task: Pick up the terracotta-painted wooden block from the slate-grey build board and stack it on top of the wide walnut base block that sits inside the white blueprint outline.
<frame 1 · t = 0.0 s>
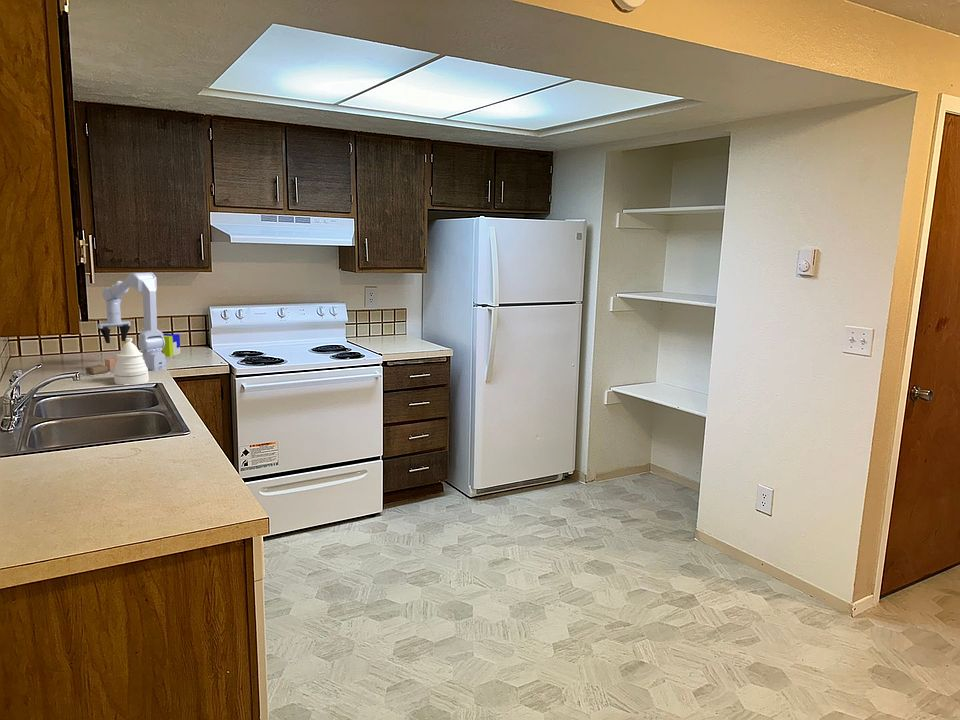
hand: (115, 342, 317), 10 cm above the worktop, fingers open, 7 cm apart
top block: (112, 369, 298), point 1 cm above the worktop, touching build board
honey pot: (131, 382, 281), on the worktop
puzzle toy: (166, 355, 344), on the worktop
build board: (104, 373, 295), on the worktop
base block: (96, 373, 291), point 1 cm above the worktop, touching build board
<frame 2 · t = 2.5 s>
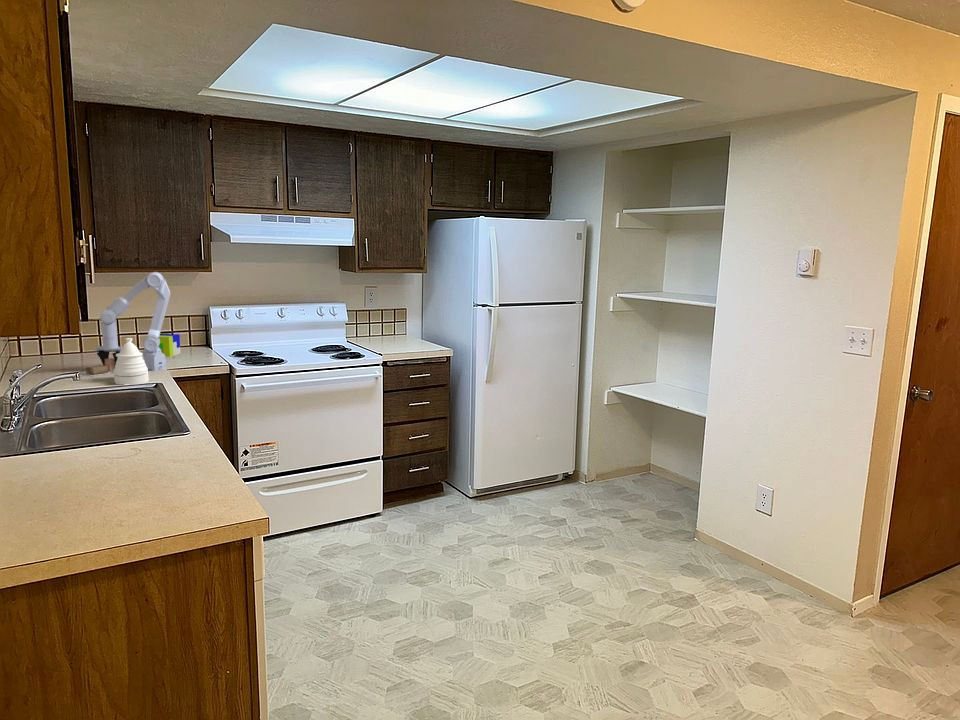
hand: (112, 367, 298), 2 cm above the worktop, fingers closed on top block, 5 cm apart
top block: (112, 369, 298), point 1 cm above the worktop, touching build board, gripper
everything else where it was.
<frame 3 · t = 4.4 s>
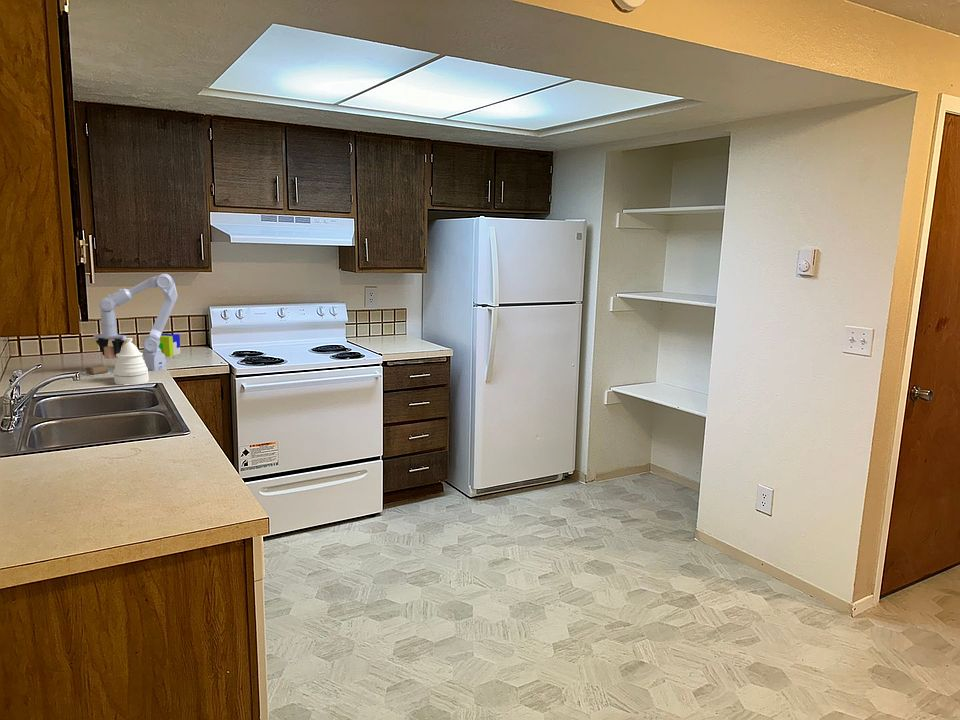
hand: (111, 355, 297), 7 cm above the worktop, fingers closed on top block, 5 cm apart
top block: (111, 357, 297), point 6 cm above the worktop, touching gripper
everything else where it was.
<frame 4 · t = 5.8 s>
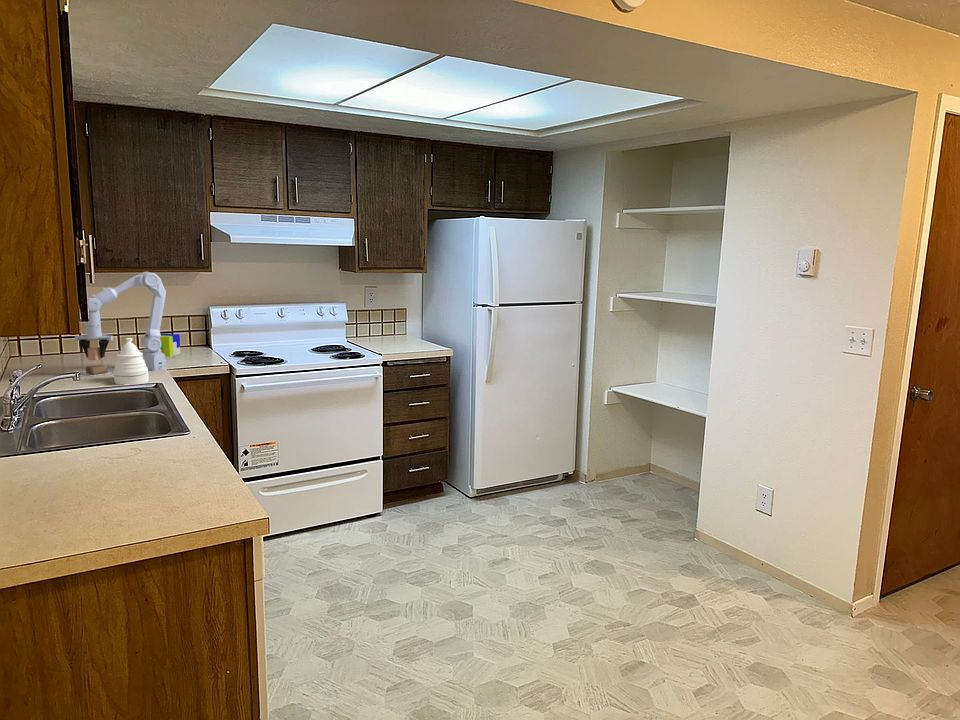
hand: (95, 357, 289), 8 cm above the worktop, fingers closed on top block, 5 cm apart
top block: (95, 359, 289), point 7 cm above the worktop, touching gripper
everything else where it was.
when the fingers open (7 cm above the worktop, at t = 6.6 s): top block drops 2 cm, resting on base block.
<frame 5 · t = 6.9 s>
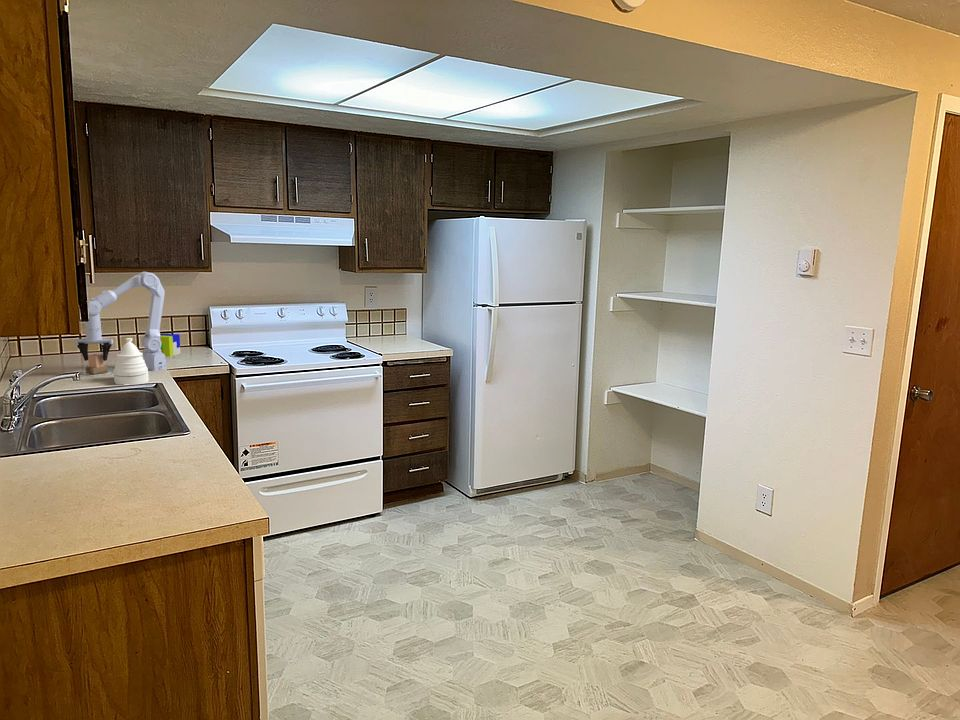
hand: (95, 360, 290), 7 cm above the worktop, fingers open, 7 cm apart
top block: (96, 366, 290), point 4 cm above the worktop, touching base block
base block: (96, 373, 291), point 1 cm above the worktop, touching build board, top block
everything else where it was.
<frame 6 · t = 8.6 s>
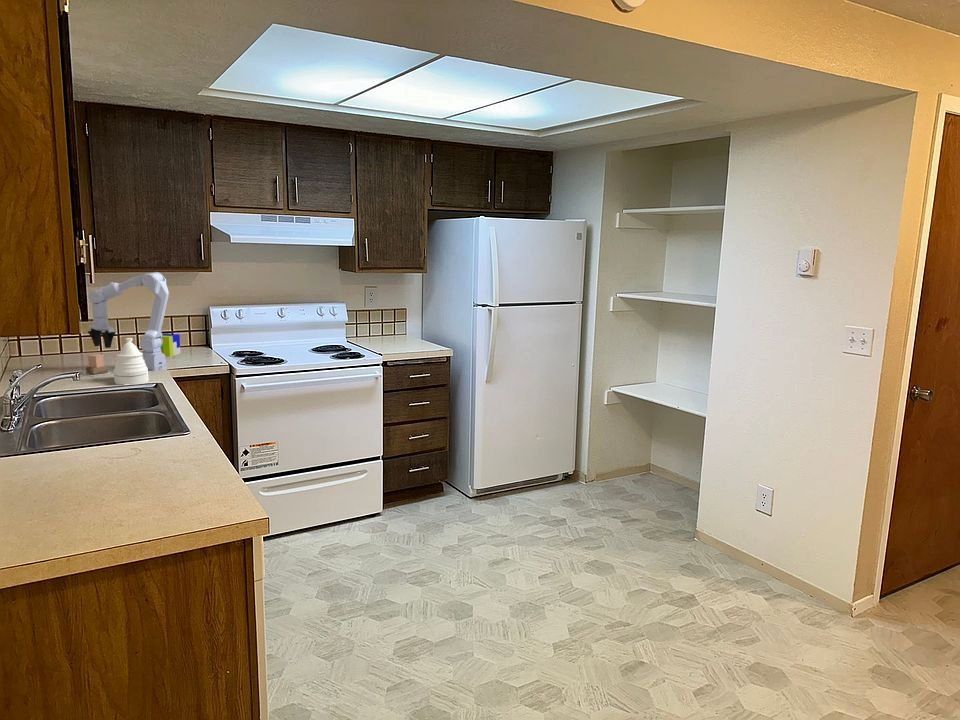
hand: (102, 346, 302), 10 cm above the worktop, fingers open, 7 cm apart
nothing on the worktop moved.
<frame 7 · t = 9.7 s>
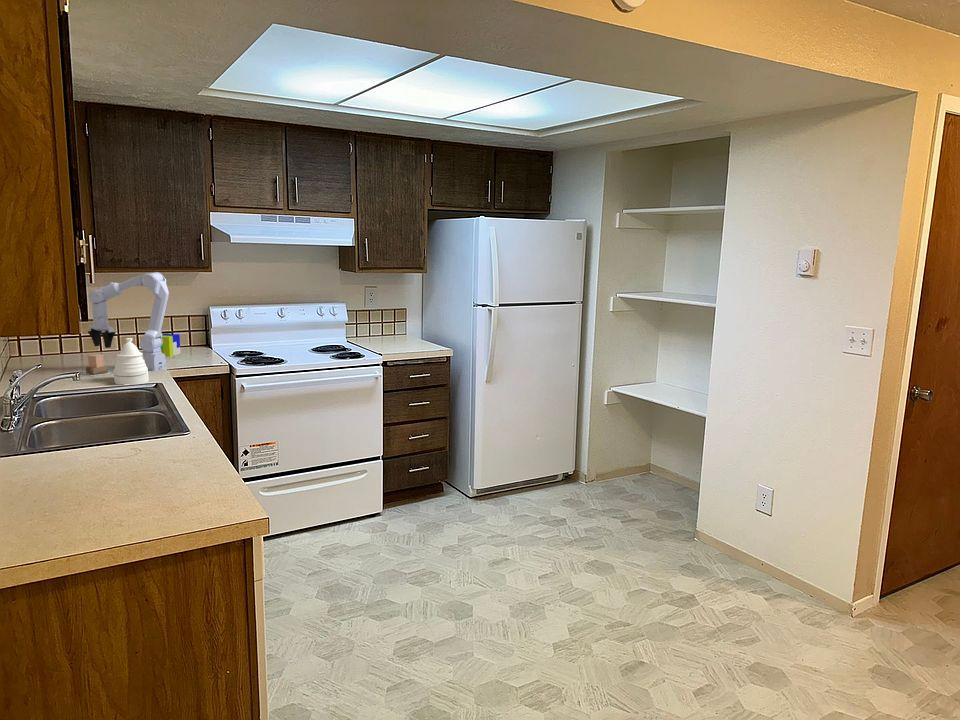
hand: (102, 346, 302), 10 cm above the worktop, fingers open, 7 cm apart
nothing on the worktop moved.
at the end: top block 0.0 cm off-centre on the base block, point 3.0 cm above the base block's base; top block tilted 0°; the gripper is holding nothing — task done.
